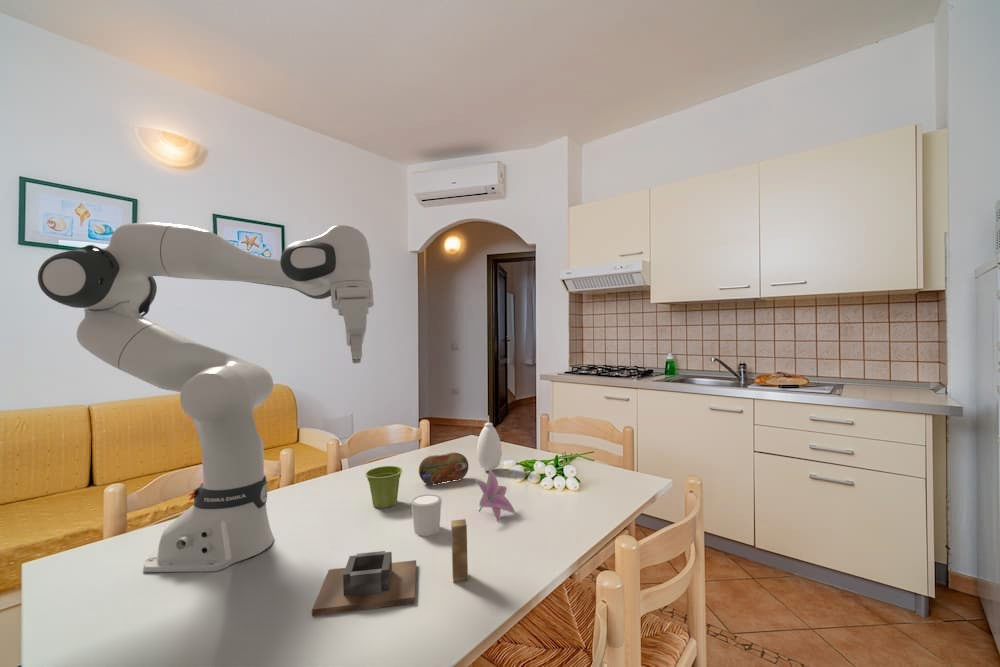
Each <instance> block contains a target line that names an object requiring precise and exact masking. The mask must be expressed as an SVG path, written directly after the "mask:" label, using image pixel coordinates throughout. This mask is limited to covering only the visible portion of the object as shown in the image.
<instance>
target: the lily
mask: <svg viewBox="0 0 1000 667" xmlns="http://www.w3.org/2000/svg"><path fill="white" fill-rule="evenodd" d="M487 475H488V476H487V480H486V482H485V481H483V480H481V479H475V483H476V484H477V485H478V487H479V488H480V490H481V492H482V493H483V494H482V496H481V499H480V500H479V506H480V507H479V510H478V512H481V510H482V509H483V508H491V509H492V512H493V515H494V517H495V519H496V521H497V522H498V521H499V522H500V519H501V515H502V514H501V513H502V511H506V512H509V513H512V514H515V513H514V512H516V510H515V508H514V506H513V505H512V503H511V502H510V500H509V499H508V498H507V497H506V493H507V490H508V489H507V487H506V486H504V485H499V482H498V479H497V476H496V475H495V472H494V470H493V471H492V470H491V469H489V472H488V474H487Z"/></svg>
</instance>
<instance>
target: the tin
mask: <svg viewBox="0 0 1000 667" xmlns="http://www.w3.org/2000/svg"><path fill="white" fill-rule="evenodd" d="M468 471H469V461H468V458H466V457H465V455H463V454H461V453H459V452H449V453H442V454H434V455H429V456H426V457H425V458H424V459H422V460H421V462H420V464H419V467H418V475H419V477H420V479H421V480H422V482H423V483H424V484H426V485H428V486H434V485H433V484H438V483H442V482H447V481H453V480H459V479H461V480H463V478H464V477H465V476H466V475H467V473H468ZM459 481H460V480H459ZM438 485H439V484H438Z"/></svg>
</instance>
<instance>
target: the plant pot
mask: <svg viewBox="0 0 1000 667" xmlns="http://www.w3.org/2000/svg"><path fill="white" fill-rule="evenodd" d="M402 473H403V468H402V467H400V466H396V465H384V466H377V467H373V468H370V469H369V470H367V471H366V472H365V477H366V479H367V482H368V484H369V490H370V495H371V500H372V505H373V507H374V508H376V507H377V508H378V509H385V508H387V507H390V506H391V507H393V506H395V505H397V502H398V494H399V486H400V478H401V474H402Z"/></svg>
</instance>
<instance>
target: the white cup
mask: <svg viewBox="0 0 1000 667" xmlns="http://www.w3.org/2000/svg"><path fill="white" fill-rule="evenodd" d="M410 504H411V505H410V506H411V512H412V513H411V514H412V524H413V530H414V534H415V535H417V536H421V537H423V536H424V537H427V536H432V535H435V534H437V533H438V532H439V531H440V526H441V524H440V523H441V514H442V512H441V510H442V509H441V508H442V497H441V496H440V495H437V494H430V493H427V494H422V495H421V494H420V495H417V496H415V497H413V498H411V501H410Z"/></svg>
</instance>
